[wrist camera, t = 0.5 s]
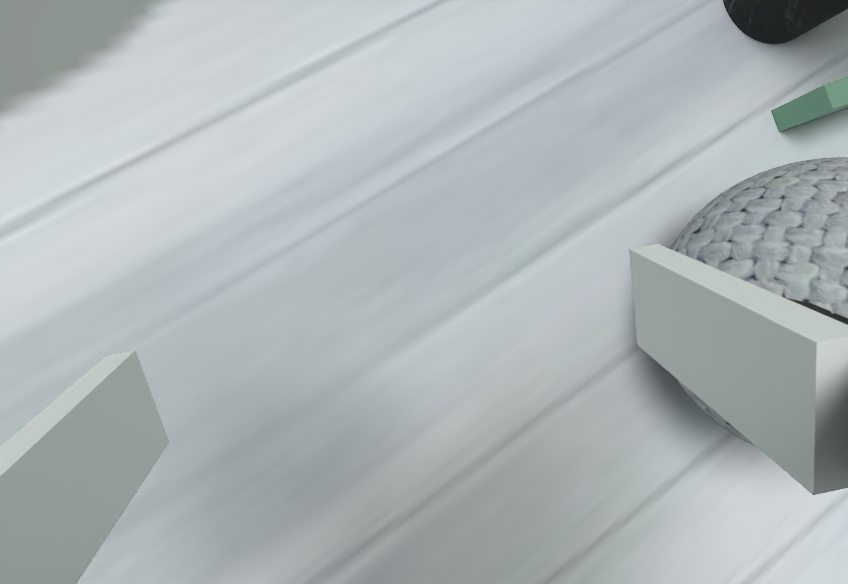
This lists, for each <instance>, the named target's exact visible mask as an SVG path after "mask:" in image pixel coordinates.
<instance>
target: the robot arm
mask: <svg viewBox="0 0 848 584" xmlns="http://www.w3.org/2000/svg"><path fill="white" fill-rule="evenodd" d="M629 253H630V265H631V277H632V289H633V302H634V314H635V326H636V339H637V345H638V346H639V347H640V348H641V349H643V350H644V351H645V352H646V353H647V354H648V355H650V356H651V357H652V358H653V359H654V360H656V361H657V362H658V363H659V364H660V365H661V366H663V367H664V368H665V369H666V370H667V371H668V372H670V373H671V374H672V375H673V376H674V377H675V378H677V379H678V380H679V381H680V382H681V383H683V384H684V385H685V386H686V387H687V388H688V389H690V390H691V391H692V392H693V393H694V394H695V395H697V396H698V397H699V398H700V399H701V400H703V401H704V402H705V403H706V404H707V405H708V406H710V407H711V408H712V409H713V410H714V411H715V412H717V413H718V414H719V415H720V416H721V417H723V418H724V419H725V420H726V421H727V422H728V423H730V424H731V425H732V426H733V427H734V428H735V429H737V430H738V431H739V432H740V433H741V434H742V435H744V436H745V437H746V438H747V439H748V440H750V441H751V442H752V443H753V444H754V445H755V446H757V447H758V448H759V449H760V450H761V451H762V452H764V453H765V454H766V455H767V456H768V457H770V458H771V459H772V460H773V461H774V462H775V463H777V464H778V465H779V466H780V467H781V468H782V469H784V470H785V471H786V472H787V473H788V474H789V475H791V476H792V477H793V478H794V479H795V480H797V481H798V482H799V483H800V484H801V485H802V486H804V487H805V488H806V489H807V490H808V491H809V492H811V493H812V494H813V495H815V494H820V493H825V492H829V491H834V490H839V489H843V488H848V318H846V317H843V316H841V315H839V314H836V313H834V314H832V313H831V311H829V310H827V309H824V308H822V307H819V306H817V305H814V304H812V303H809V302H804V301H799V300H794V299H789V298H784V297H781V296H779V295H777V294H774V293H772V292H770V291H767V290H765V289H763V288H760V287H758V286H756V285H753V284H751V283H749V282H746V281H744V280H741V279H739V278H737V277H734V276H732V275H730V274H727V273H725V272H723V271H720V270H718V269H716V268H713V267H711V266H709V265H706V264H704V263H702V262H699V261H697V260H695V259H692V258H690V257H688V256H685V255H683V254H681V253H678V252H676V251H674V250H671V249H669V248H667V247H664V246H662V245H660V244H653V245H648V246H643V247H638V248H634V249H629ZM168 443H169V440H168V438H167V435H166V432H165V429H164V427H163V424H162V421H161V419H160V416H159V413H158V411H157V408H156V405H155V402H154V400H153V397H152V394H151V392H150V389H149V386H148V383H147V381H146V378H145V375H144V373H143V370H142V367H141V365H140V362H139V359H138V356H137V354H136V351H135V350H134V351H129V352H124V353H119V354H114V355H110V356H106V357H104V358H103V359H102V360H101V361H100V362H99V363H97V364H96V365H95V366H94V367H93V368H91V369H90V370H89V371H88V372H87V373H86V374H84V375H83V376H82V377H81V378H80V379H79V380H77V381H76V382H75V383H74V384H73V385H72V386H70V387H69V388H68V389H67V390H66V391H65V392H63V393H62V394H61V395H60V396H59V397H58V398H56V399H55V400H54V401H53V402H52V403H51V404H49V405H48V406H47V407H46V408H45V409H44V410H42V411H41V412H40V413H39V414H38V415H37V416H35V417H34V418H33V419H32V420H31V421H29V422H28V423H27V424H26V425H25V426H24V427H22V428H21V429H20V430H19V431H18V432H17V433H15V434H14V435H13V436H12V437H11V438H10V439H8V440H7V441H6V442H5V443H4V444H3V445H1V446H0V584H76V583H77V582H78V580H79V579H80V577H81V576H82V574H83V573H84V571H85V570H86V568H87V567H88V565H89V564H90V562H91V561H92V559H93V558H94V556H95V554H96V553H97V551H98V550H99V548H100V547H101V545H102V544H103V542H104V541H105V539H106V538H107V536H108V535H109V533H110V532H111V530H112V529H113V527H114V525H115V524H116V522H117V521H118V519H119V518H120V516H121V515H122V513H123V512H124V510H125V509H126V507H127V506H128V504H129V503H130V501H131V500H132V498H133V496H134V495H135V493H136V492H137V490H138V489H139V487H140V486H141V484H142V483H143V481H144V480H145V478H146V477H147V475H148V474H149V472H150V471H151V469H152V467H153V466H154V464H155V463H156V461H157V460H158V458H159V457H160V455H161V454H162V452H163V451H164V449H165V448H166V446H167V445H168Z"/></svg>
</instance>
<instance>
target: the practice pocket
mask: <svg viewBox="0 0 848 584" xmlns="http://www.w3.org/2000/svg"><path fill="white" fill-rule="evenodd" d="M847 107H848V77H846V78H843V79H841V80H838V81H835V82H832V83H829V84H826V85H823V86H821V87H819V88H817V89H815V90H813V91H811V92H809V93H807V94H805V95H803V96H801V97H799V98H797V99H795V100H793V101H791V102H788V103H786V104H784V105H782V106H780V107H778V108H776V109H774V110H772V113H773V116H774V118H775V121H776V124H777V126H778V129H779V132H781V131H783V130H786V129H789V128H792V127H795V126H797V125H800V124H803V123H806V122H808V121H811V120H814V119H817V118H819V117H822V116H825V115H828V114H831V113H833V112H836V111H839V110H842V109H844V108H847Z"/></svg>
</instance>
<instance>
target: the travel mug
mask: <svg viewBox="0 0 848 584" xmlns="http://www.w3.org/2000/svg"><path fill="white" fill-rule="evenodd" d="M724 4H725V7H726V9H727V11H728V13H729V15H730V17H731V18H732V20H733V21H734V23H735V24H736V25H737V26H738V27H739V28H740V29H741V30H742V31H743V32H744V33H746V34H747V35H748V36H750V37H752V38H754V39H756V40H758V41H761V42H765V43H782V42H787V41H789V40H792V39H794V38H796V37H798V36H800V35H802V34H803V33H805V32H807V31H809V30H811V29H812V28H814V27H816V26H818V25H820V24H821V23H823V22H825V21H827V20H828V19H830V18H832V17H834V16H835V15H837V14H839V13H841V12H842V11H844V10H846V9H848V0H724Z"/></svg>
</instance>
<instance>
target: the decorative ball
mask: <svg viewBox="0 0 848 584" xmlns="http://www.w3.org/2000/svg"><path fill="white" fill-rule="evenodd" d="M671 250H674V251H676V252H678V253H681V254H683V255H685V256H688V257H690V258H692V259H695V260H697V261H699V262H702V263H704V264H706V265H709V266H711V267H713V268H716V269H718V270H720V271H723V272H725V273H727V274H730V275H732V276H734V277H737V278H739V279H741V280H744V281H746V282H749V283H751V284H753V285H756V286H758V287H760V288H763V289H765V290H767V291H770V292H772V293H774V294H777V295H779V296H781V297H784V298H789V299H794V300H799V301H804V302H809V303H812V304H814V305H817V306H819V307H822V308H824V309H827V310H829V311H831V313H832V314H834V313H836V314H839V315H841V316H843V317H846V318H848V158H822V159H814V160H806V161H801V162H796V163H791V164H787V165H784V166H780V167H777V168H773V169H771V170H768V171H765V172H762V173H759V174H757V175H755V176H752V177H750V178H748V179H746V180H744V181H742V182H740V183H738V184H736V185H734V186H733V187H731V188H729V189H728V190H726V191H725V192H723V193H722V194H720V195H719V196H717V197H716V198H715V199H714V200H712V201H711V202H710V203H708V204H707V205H706V206H705V207H704V208H703V209H702V210H701V211H700V212H699V213H698V214H697V215H696V216H695V217H694V218H693V219H692V220H691V221H690V222H689V224H688V225H687V226H686V227H685V229H684V230H683V231H682V233H681V234H680V236H679V237H678V239H677V240H676V242H675V243H674V245H673V247H672V249H671ZM676 379H677V378H676ZM677 381H678V382H679V383H680V385H681V386H682V387H683V389H684V390H685V391H686V393H687V394H688V395H689V396H690V397H691V398H692V400H693V401H694V402H695V403H696V404H697V405H698V406H699V407H700V408H701V409H702V410H703V411H704V412H705V413H706V414H707V415H709V416H710V417H711V418H712V419H713V420H715V421H716V422H717V423H718V424H720V425H721V426H722V427H724V428H725V429H727V430H728V431H730V432H731V433H733V434H734V435H736V436H738V437H739V438H741V439H743V440H745V441H746V442H748V443H750V444H753V443H752V442H751V441H750V440H748V439H747V438H746V437H745V436H744V435H742V434H741V433H740V432H739V431H738V430H737V429H735V428H734V427H733V426H732V425H731V424H730V423H728V422H727V421H726V420H725V419H724V418H723V417H721V416H720V415H719V414H718V413H717V412H715V411H714V410H713V409H712V408H711V407H710V406H708V405H707V404H706V403H705V402H704V401H703V400H701V399H700V398H699V397H698V396H697V395H695V394H694V393H693V392H692V391H691V390H690V389H688V388H687V387H686V386H685V385H684V384H683V383H681V382H680V381H679V380H678V379H677ZM753 445H754V444H753Z"/></svg>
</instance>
